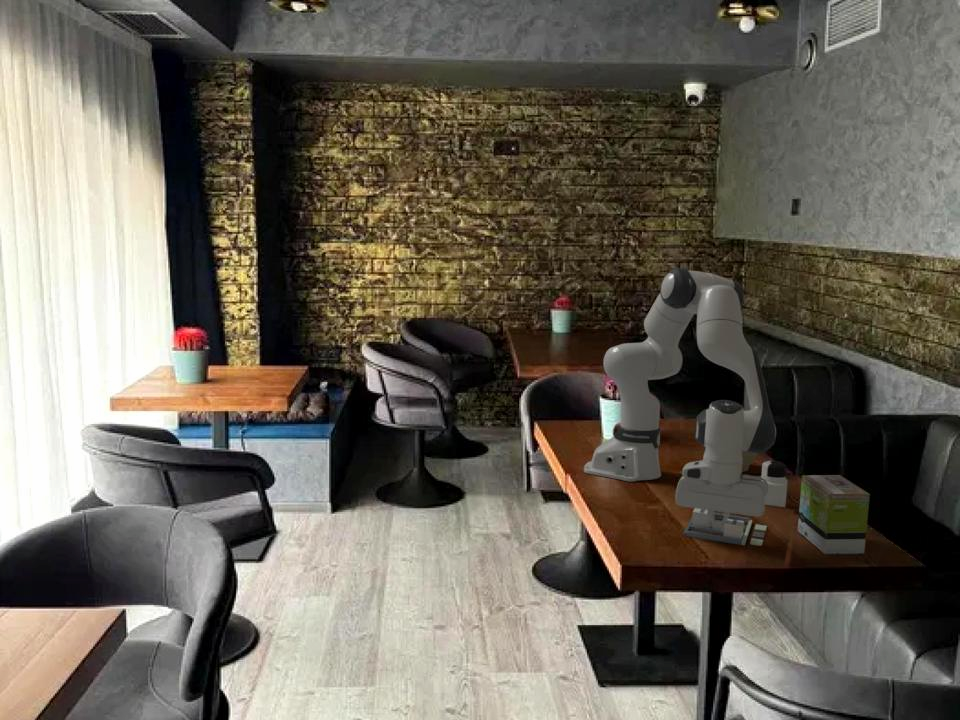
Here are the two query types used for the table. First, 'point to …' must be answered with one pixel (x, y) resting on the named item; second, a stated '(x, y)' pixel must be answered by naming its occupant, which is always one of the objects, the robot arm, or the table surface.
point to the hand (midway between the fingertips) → (717, 528)
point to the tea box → (833, 514)
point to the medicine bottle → (775, 483)
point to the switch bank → (723, 538)
